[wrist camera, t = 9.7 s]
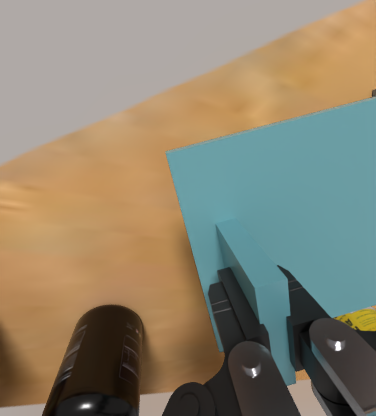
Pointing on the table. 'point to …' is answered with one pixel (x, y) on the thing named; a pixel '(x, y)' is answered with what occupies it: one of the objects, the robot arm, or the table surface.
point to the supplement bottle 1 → (100, 366)
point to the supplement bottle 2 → (360, 319)
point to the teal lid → (286, 214)
